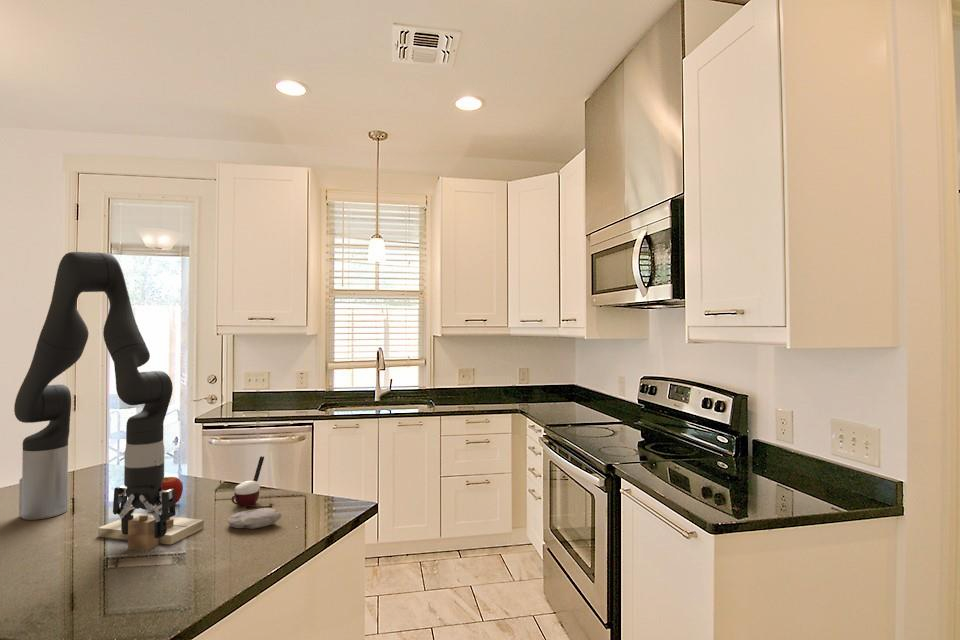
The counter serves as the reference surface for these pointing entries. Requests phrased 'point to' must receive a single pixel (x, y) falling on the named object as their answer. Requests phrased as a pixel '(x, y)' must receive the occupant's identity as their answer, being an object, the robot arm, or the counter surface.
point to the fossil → (254, 518)
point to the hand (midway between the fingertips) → (143, 535)
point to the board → (173, 534)
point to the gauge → (143, 532)
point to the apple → (173, 486)
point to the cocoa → (248, 489)
